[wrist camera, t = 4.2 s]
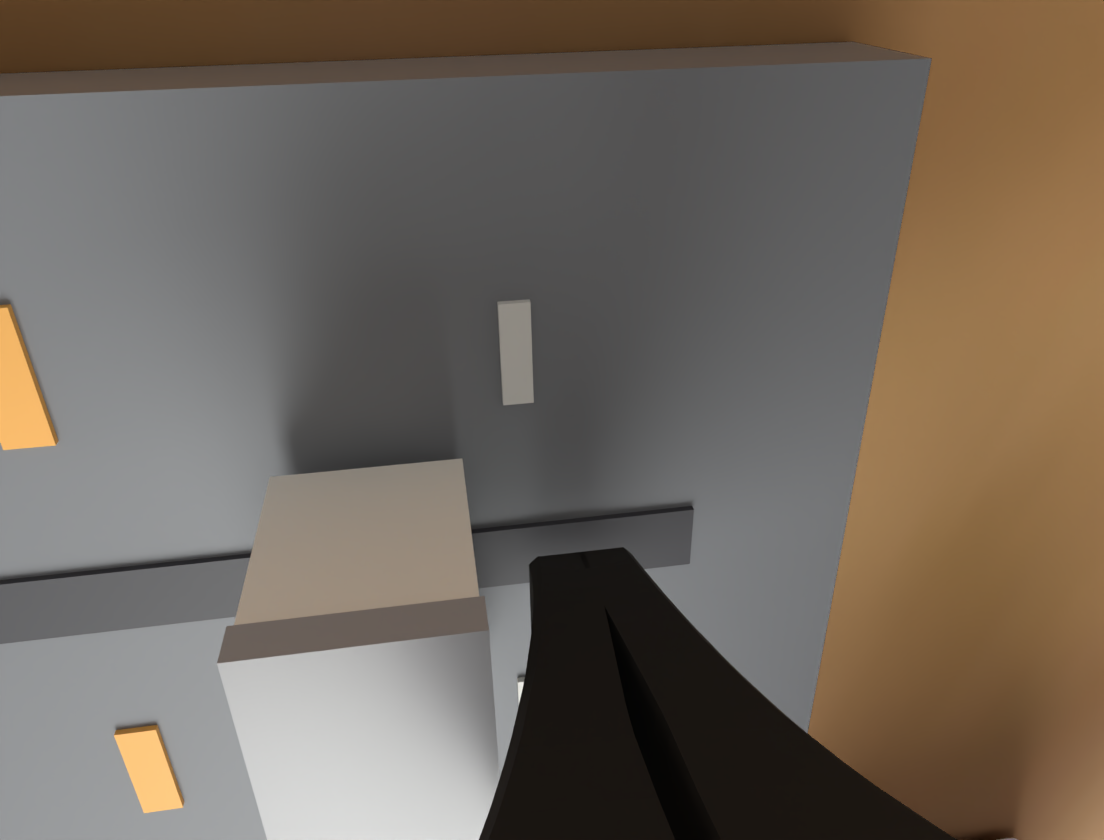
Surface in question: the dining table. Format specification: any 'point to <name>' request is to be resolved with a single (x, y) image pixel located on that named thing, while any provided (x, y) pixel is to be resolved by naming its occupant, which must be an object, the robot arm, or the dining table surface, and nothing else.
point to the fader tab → (365, 659)
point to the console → (420, 363)
